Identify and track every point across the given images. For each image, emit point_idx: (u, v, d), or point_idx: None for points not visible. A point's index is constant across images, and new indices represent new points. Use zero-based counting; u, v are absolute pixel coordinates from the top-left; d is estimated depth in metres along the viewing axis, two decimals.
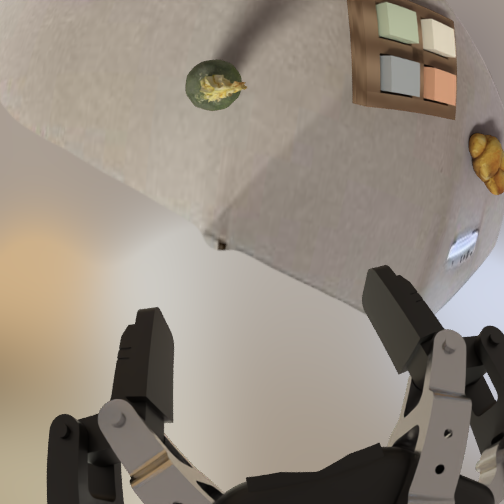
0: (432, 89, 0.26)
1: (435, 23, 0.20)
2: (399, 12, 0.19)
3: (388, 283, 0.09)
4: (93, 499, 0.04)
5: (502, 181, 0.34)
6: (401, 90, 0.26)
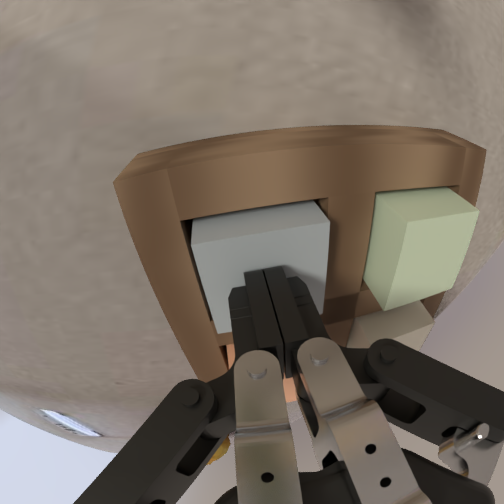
0: None
1: (425, 332, 0.15)
2: (456, 247, 0.11)
3: (273, 284, 0.09)
4: (174, 472, 0.05)
5: None
6: (212, 278, 0.10)
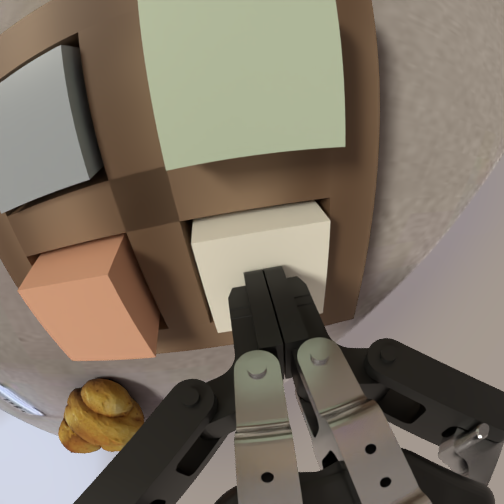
0: (45, 277, 0.09)
1: (315, 240, 0.10)
2: (303, 42, 0.05)
3: (273, 284, 0.09)
4: (174, 472, 0.05)
5: (82, 450, 0.19)
6: None
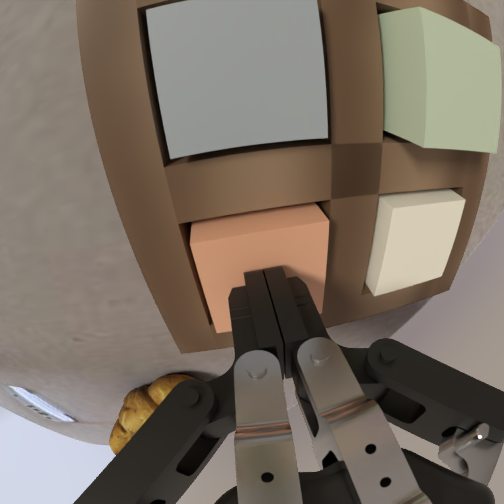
0: (234, 227, 0.10)
1: (456, 213, 0.11)
2: (489, 83, 0.06)
3: (273, 284, 0.09)
4: (174, 472, 0.05)
5: None
6: (166, 51, 0.06)
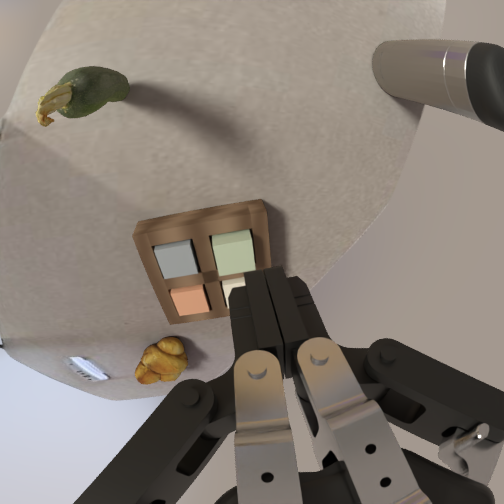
0: (180, 289, 0.40)
1: None
2: (245, 253, 0.36)
3: (273, 284, 0.09)
4: (174, 472, 0.05)
5: (150, 380, 0.49)
6: (160, 259, 0.36)
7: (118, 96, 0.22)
